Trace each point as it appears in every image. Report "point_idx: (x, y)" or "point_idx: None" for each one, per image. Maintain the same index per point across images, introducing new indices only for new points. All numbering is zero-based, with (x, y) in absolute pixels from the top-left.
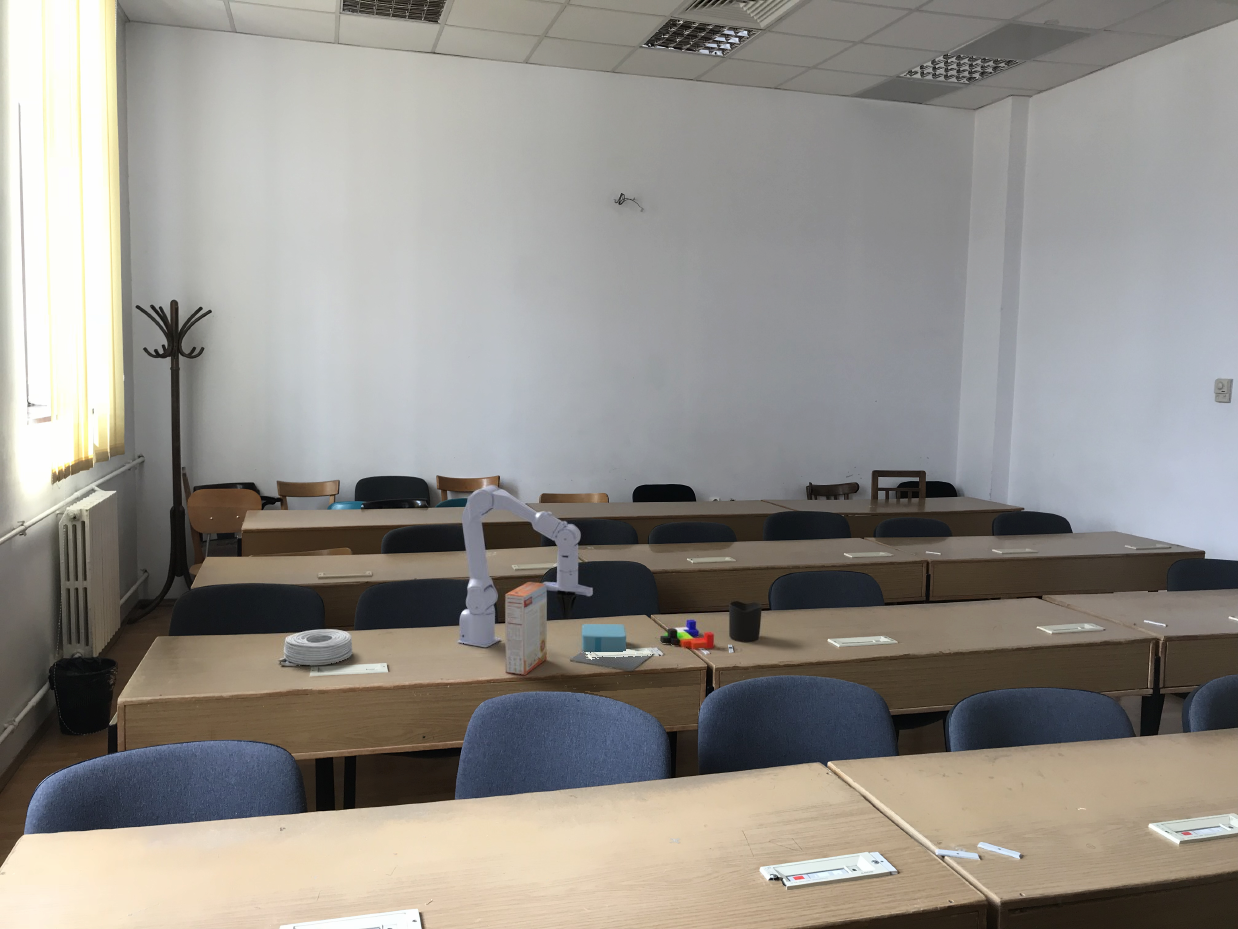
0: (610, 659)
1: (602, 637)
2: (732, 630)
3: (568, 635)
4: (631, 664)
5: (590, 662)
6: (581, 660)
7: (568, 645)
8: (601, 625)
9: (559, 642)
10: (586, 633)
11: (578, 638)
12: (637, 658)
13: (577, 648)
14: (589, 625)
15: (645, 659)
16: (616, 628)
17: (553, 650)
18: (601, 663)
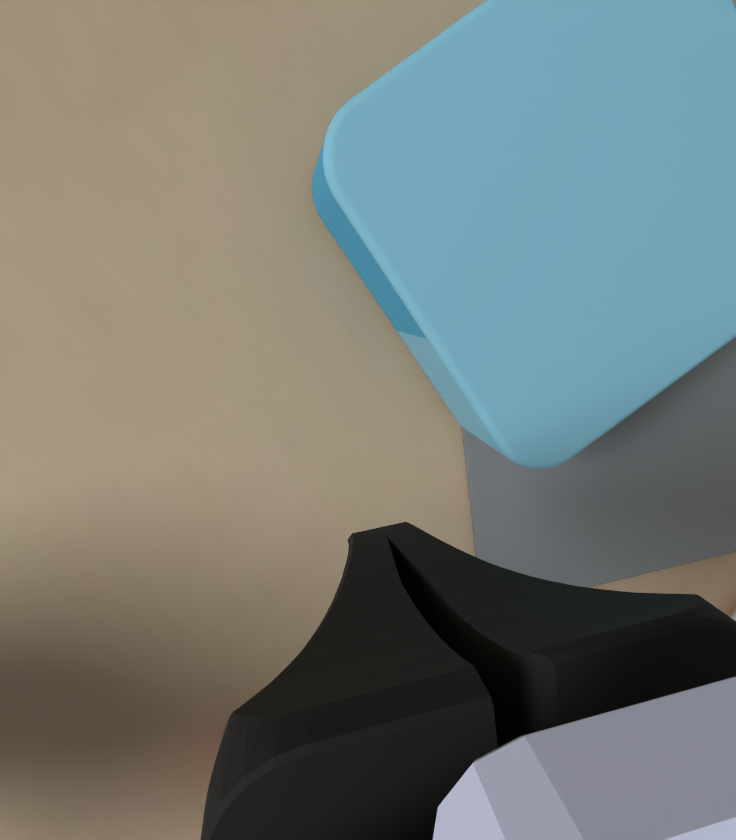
0: (689, 451)
1: (665, 388)
2: None
3: (103, 118)
4: None
5: (613, 569)
6: (551, 575)
7: (286, 359)
8: (506, 66)
9: (180, 340)
10: (516, 403)
11: (235, 146)
12: None
13: (383, 376)
14: (401, 148)
15: None
16: (678, 74)
17: (272, 518)
18: (673, 542)
